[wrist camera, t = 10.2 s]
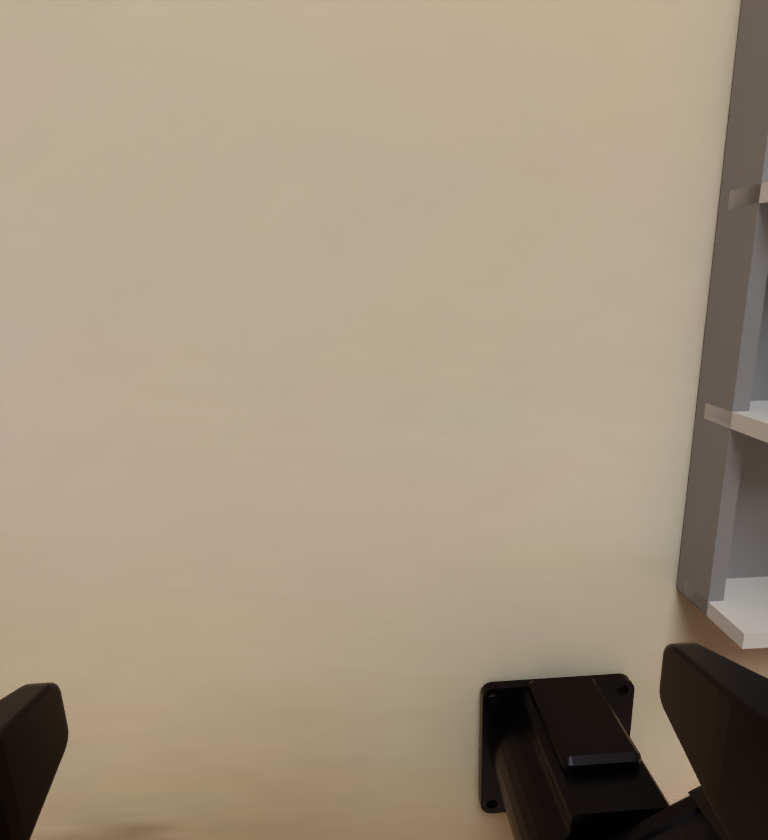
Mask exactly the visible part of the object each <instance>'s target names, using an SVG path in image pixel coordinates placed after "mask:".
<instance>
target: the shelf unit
mask: <svg viewBox="0 0 768 840" xmlns="http://www.w3.org/2000/svg"><path fill="white" fill-rule="evenodd" d="M677 589H678V590H680V591H681V592H682V593H683V594H684V595H685V596H686V597H687V598H688V599H689V600H690V601H691V602H692V603H693V604H694V605H696V606H697V607H698V608H699V609H700V610H701V611H702V612H703V613H704V614H705V615H706V616H707V617H708V618H709V619H710V620H712V621H713V622H714V623H715V624H716V625H717V626H718V627H719V628H720V629H721V630H722V631H723V632H724V633H725V634H727V635H728V636H729V637H730V638H731V639H732V640H733V641H734V642H735V643H736V644H737V645H738V646H739V647H740V648H741V649H753V648H768V0H742V3H741V12H740V21H739V30H738V39H737V48H736V57H735V66H734V75H733V84H732V93H731V102H730V111H729V120H728V129H727V138H726V147H725V156H724V165H723V174H722V183H721V192H720V201H719V210H718V219H717V228H716V237H715V246H714V255H713V264H712V273H711V282H710V291H709V300H708V309H707V318H706V327H705V336H704V345H703V354H702V363H701V372H700V381H699V390H698V399H697V408H696V417H695V426H694V435H693V444H692V453H691V462H690V471H689V480H688V489H687V498H686V507H685V516H684V525H683V534H682V543H681V552H680V561H679V570H678V579H677Z"/></svg>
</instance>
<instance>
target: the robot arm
mask: <svg viewBox="0 0 768 840" xmlns="http://www.w3.org/2000/svg"><path fill="white" fill-rule="evenodd" d="M622 685H623V687H621V688H619V689H618V687H620V686H622ZM491 694H497V695H496V696H494V697H489V696H490V695H491ZM633 698H634V685H633V684H632V682H631V681H630V680H629V678H628V677H627V676H626V675H624V674H607V675H591V676H576V677H560V678H545V679H529V680H514V681H498V682H490V683H487V684H485V685H484V686H483V687H482V689H481V695H480V756H479V800H480V804H481V808H482V809H483V811H485V812H487V813H500V812H506V813H507V817H508V820H509V823H510V827H511V830H512V834H513V837H514V840H768V679H767V678H765V677H763V676H761V675H759V674H757V673H755V672H753V671H751V670H749V669H747V668H745V667H743V666H741V665H739V664H737V663H735V662H733V661H731V660H729V659H727V658H725V657H723V656H721V655H719V654H717V653H715V652H713V651H711V650H709V649H707V648H705V647H703V646H701V645H699V644H696V643H675V644H669V645H668V646H666V648H665V650H664V653H663V661H662V671H661V680H660V698H661V702H662V705H663V708H664V710H665V712H666V714H667V716H668V718H669V720H670V723H671V725H672V727H673V729H674V731H675V733H676V735H677V737H678V739H679V741H680V743H681V745H682V747H683V749H684V751H685V753H686V755H687V757H688V759H689V761H690V764H691V766H692V768H693V770H694V772H695V774H696V776H697V778H698V780H699V782H700V784H701V786H699V787H697V788H695V789H693V790H691V791H689V792H688V793H689V796H687V797H685V798H683V799H681V800H680V801H678V802H676V803H674V804H672V805H669V803H668V802H667V800H666V798H665V797H664V795H663V793H662V792H661V790H660V788H659V787H658V785H657V784H656V782H655V780H654V779H653V777H652V775H651V774H650V772H649V770H648V769H647V767H646V766H645V764H644V762H643V761H642V759H641V756H640V753H639V751H638V750H637V748H636V746H635V745H634V743H633V742H632V740H631V738H630V729H631V719H632V708H633ZM67 741H68V725H67V720H66V715H65V710H64V705H63V700H62V695H61V691H60V688H59V687H58V685H57V684H55V683H35V684H27V685H24V686H22V687H20V688H19V689H17V690H15V691H14V692H12V693H11V694H9V695H7V696H6V697H4V698H2V699H1V700H0V840H30V838H31V835H32V833H33V830H34V828H35V825H36V822H37V820H38V817H39V815H40V812H41V810H42V807H43V805H44V802H45V800H46V797H47V795H48V792H49V790H50V787H51V785H52V782H53V779H54V777H55V774H56V772H57V769H58V767H59V764H60V762H61V759H62V757H63V754H64V752H65V749H66V746H67ZM492 799H493V800H492ZM489 800H490V801H489Z"/></svg>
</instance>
